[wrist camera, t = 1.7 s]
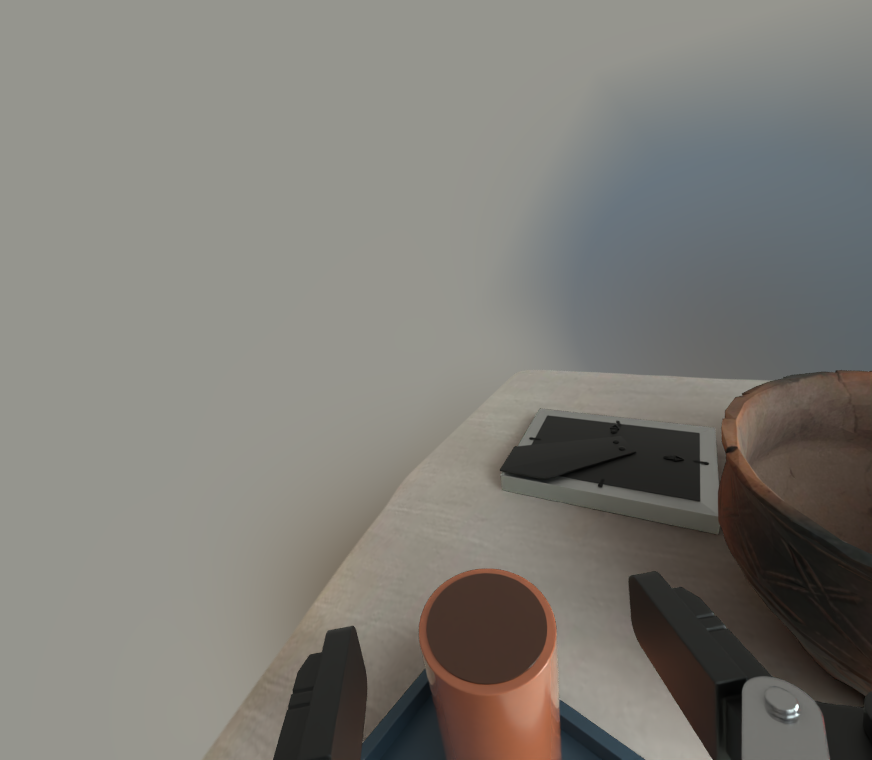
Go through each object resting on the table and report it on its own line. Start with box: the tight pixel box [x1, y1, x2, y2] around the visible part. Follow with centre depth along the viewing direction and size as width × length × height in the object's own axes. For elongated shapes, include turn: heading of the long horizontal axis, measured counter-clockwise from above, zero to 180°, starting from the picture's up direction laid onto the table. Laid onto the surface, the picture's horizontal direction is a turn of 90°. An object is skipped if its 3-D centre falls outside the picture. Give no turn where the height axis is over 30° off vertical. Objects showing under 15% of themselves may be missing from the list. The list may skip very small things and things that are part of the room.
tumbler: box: [419, 569, 562, 760], centre depth 23 cm, size 6×6×13 cm
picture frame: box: [500, 408, 720, 534], centre depth 51 cm, size 16×3×21 cm
